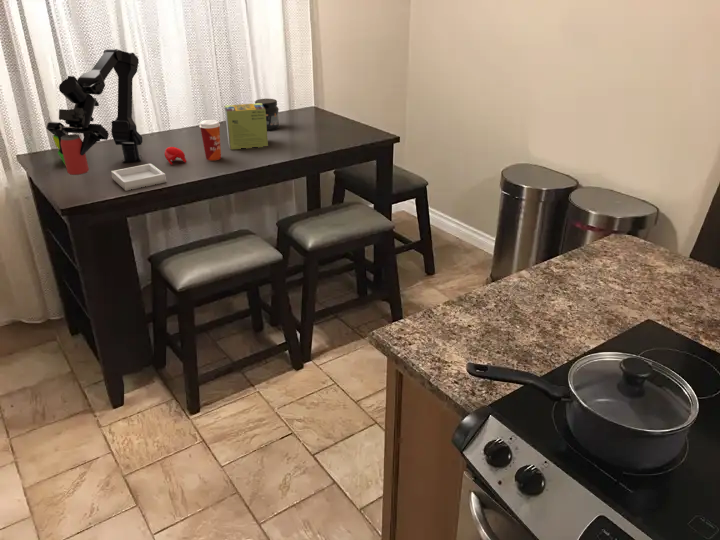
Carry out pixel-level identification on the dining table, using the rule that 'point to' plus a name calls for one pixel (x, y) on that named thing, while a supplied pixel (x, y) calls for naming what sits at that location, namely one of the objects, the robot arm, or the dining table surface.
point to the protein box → (246, 125)
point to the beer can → (73, 154)
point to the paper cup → (211, 139)
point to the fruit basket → (58, 148)
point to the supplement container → (270, 112)
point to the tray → (138, 176)
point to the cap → (174, 154)
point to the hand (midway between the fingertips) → (71, 154)
